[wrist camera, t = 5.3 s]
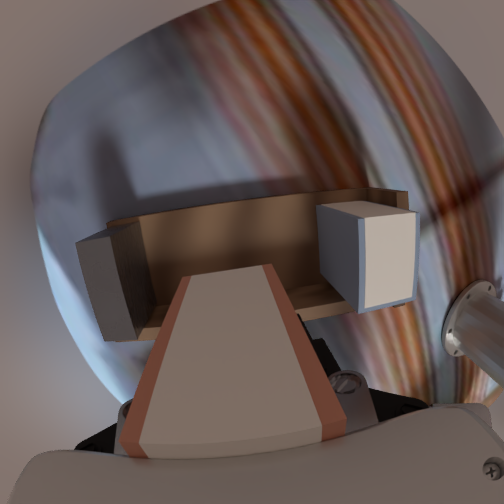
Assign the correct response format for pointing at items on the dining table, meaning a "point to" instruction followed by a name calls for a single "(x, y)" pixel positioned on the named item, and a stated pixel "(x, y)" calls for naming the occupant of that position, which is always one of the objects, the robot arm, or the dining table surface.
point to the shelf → (248, 246)
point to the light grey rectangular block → (369, 252)
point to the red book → (231, 375)
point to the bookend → (118, 280)
